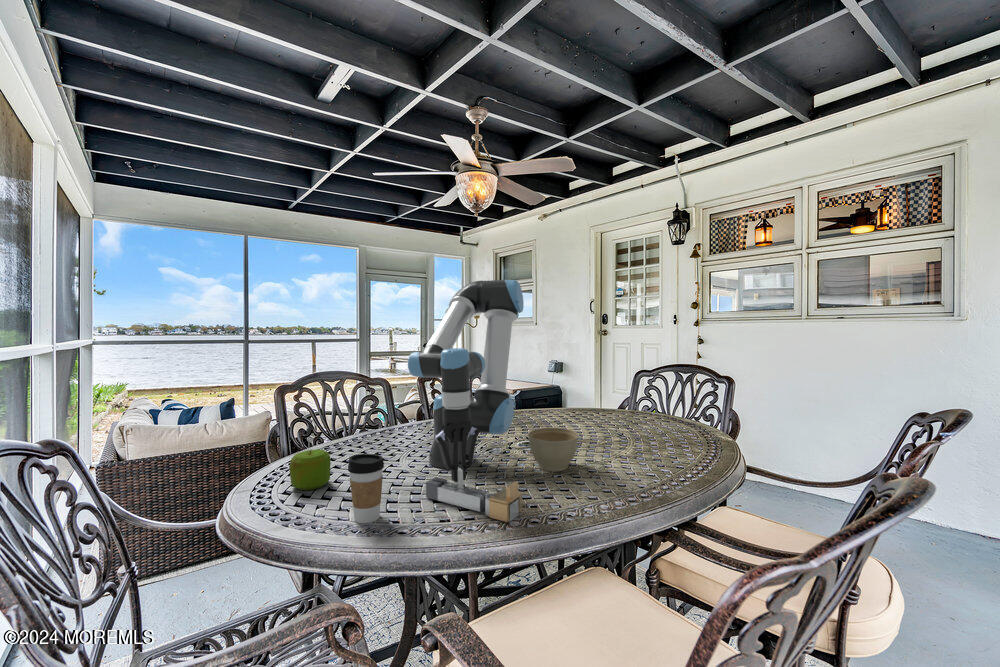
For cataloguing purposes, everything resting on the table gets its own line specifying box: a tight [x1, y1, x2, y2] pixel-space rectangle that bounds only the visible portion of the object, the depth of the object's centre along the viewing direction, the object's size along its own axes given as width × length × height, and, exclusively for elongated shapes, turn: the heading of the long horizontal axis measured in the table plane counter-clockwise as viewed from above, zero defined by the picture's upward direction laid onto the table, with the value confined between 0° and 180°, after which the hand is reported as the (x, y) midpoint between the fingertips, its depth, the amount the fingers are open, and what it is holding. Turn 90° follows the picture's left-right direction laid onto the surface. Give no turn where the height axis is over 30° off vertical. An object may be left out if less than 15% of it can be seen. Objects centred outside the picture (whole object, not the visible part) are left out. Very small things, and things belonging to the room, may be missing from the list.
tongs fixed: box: [425, 479, 520, 522], centre depth 114 cm, size 26×4×5 cm, turn 59°
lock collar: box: [488, 481, 522, 523], centre depth 108 cm, size 5×7×8 cm
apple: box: [288, 448, 332, 491], centre depth 128 cm, size 11×11×11 cm
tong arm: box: [431, 476, 490, 509], centre depth 117 cm, size 17×2×4 cm, turn 59°
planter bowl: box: [527, 427, 579, 472], centre depth 143 cm, size 16×16×11 cm
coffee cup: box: [347, 453, 385, 524], centre depth 107 cm, size 8×8×15 cm
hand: (459, 492), depth 120 cm, fingers closed
